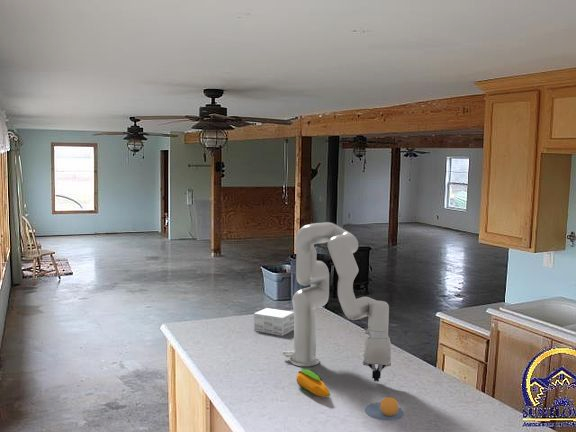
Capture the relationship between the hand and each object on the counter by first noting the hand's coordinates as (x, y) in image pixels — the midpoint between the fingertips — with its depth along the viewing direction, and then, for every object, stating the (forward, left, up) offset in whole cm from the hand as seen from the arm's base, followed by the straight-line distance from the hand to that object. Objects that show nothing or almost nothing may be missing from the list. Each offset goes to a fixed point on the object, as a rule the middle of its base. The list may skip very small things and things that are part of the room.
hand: (376, 379), depth 210 cm
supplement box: (-44, +65, -2) cm, 79 cm away
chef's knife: (0, +38, -2) cm, 38 cm away
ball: (+1, -27, +2) cm, 27 cm away
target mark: (0, -24, -2) cm, 24 cm away
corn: (-24, -11, -2) cm, 26 cm away
